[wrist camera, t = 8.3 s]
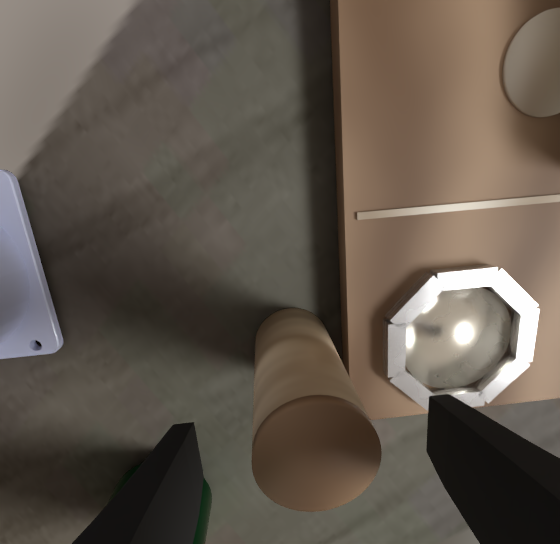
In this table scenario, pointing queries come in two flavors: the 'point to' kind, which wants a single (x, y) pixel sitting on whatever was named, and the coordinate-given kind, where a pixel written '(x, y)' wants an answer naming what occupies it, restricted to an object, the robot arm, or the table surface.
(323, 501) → the peg
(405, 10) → the board
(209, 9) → the table surface
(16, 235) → the robot arm
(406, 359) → the socket ring
